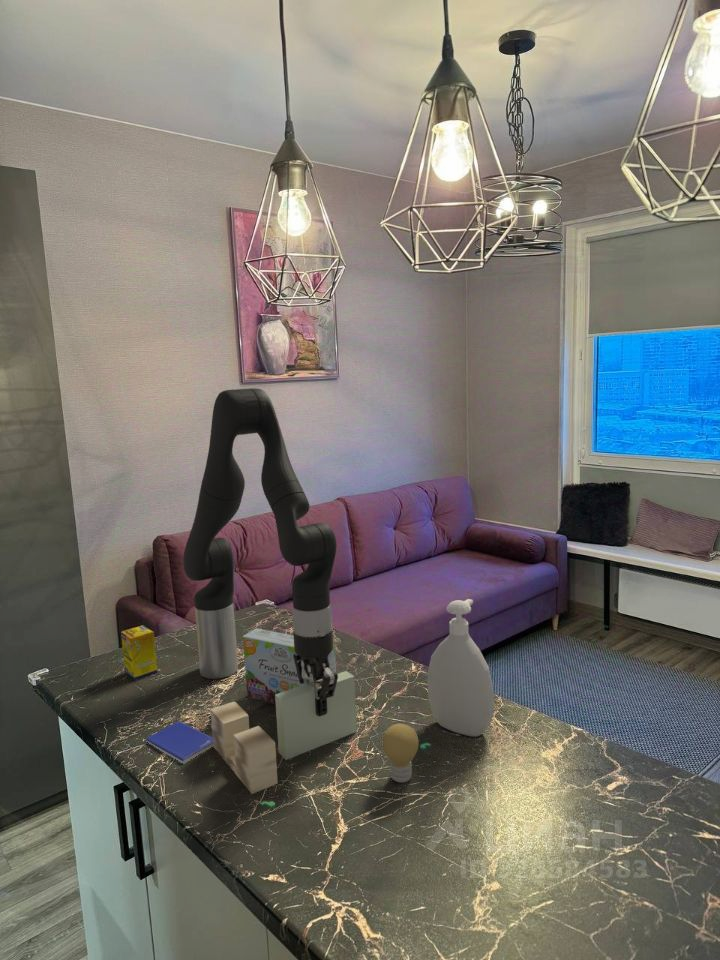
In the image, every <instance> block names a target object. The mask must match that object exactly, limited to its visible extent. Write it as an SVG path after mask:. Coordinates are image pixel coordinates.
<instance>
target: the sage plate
mask: <svg viewBox="0 0 720 960" xmlns="http://www.w3.org/2000/svg"><path fill="white" fill-rule="evenodd" d="M337 675H338V679H337V684H336V688H335V692H334V696H333V697H329V698H327V714H325V715H323V716H320V717H319V716H317V715H316V706H315V692H314V687H312V686H311V683H309V684H306V685H303V686H300V687H297V688H294V689H291V690H288V691H285V692H282V693H279V694H276V695H275V701H276V704H275V713H276V717H275V718H276V729H277V730H276V731H277V732H276V733H277V747H278V753H279V754H280V756H281V757H282V758H283V759H284V760H285V761H287V760H289V759H292V758H294V757H297V756H300V755H301V754H304V753H307V752H310V751H312V750H314V749H317V748H320V747H323V746H325V745H327V744H330V743H332V742H335V741H337V740H341V739H342V738H345V737H347V736H349V735H352V734H355V733H357V731H358V730H357V727H358V726H357V710H356V708H357V707H356V687H355V686H356V685H355V684H356V683H355V675H353V674H352V673H350V672H349V671H347V670H345V671H342V672H339V673H337ZM321 680H322V679H321ZM318 681H320V680H318ZM316 682H317V681H316ZM320 691H321V687H319V692H320Z"/></svg>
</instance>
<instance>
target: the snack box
mask: <svg viewBox="0 0 720 960" xmlns="http://www.w3.org/2000/svg"><path fill="white" fill-rule="evenodd" d="M242 648H243V657H244V671H245V681H246V691H247V692H246V693H247V698H249V697H250V699H253V698H254V700H257V699H258V701H261V702H266V703H269V704H273V705H276V701H275V695H276V694H279V693H282V692H285V691H288V690H291V689H294V688H297V687H300V686H303V685H304V684H300V682H299V678H298V674H297V670H296V665H295V661H294V657H293V655H294V654H296V653H295V650H294V635H291V634H288V633H286V634H285V633H282V632H278V631H272V630H266V629H262V628H257V627H256V628H254V629H252V630H251V631H249V632H247V633H245V634H244V635H242ZM336 660H337V659H336V644H335V643H333V650H332V651H331V652H330V654H329V655H328V661H329V665H330V667H329V669H330V671H331V672H332V673H335V672H336V673H337V665H336V664H337V663H336ZM317 681H318V680H317Z"/></svg>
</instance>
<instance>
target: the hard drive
mask: <svg viewBox="0 0 720 960" xmlns="http://www.w3.org/2000/svg"><path fill="white" fill-rule="evenodd" d="M145 740H146V743H147V742H148V743H149V744H148V743H147V744H148V745H150V744H151V745H153V746H154V747H153V746H152V747H153V748H155V747H156V748H155V749H157V750H158V749H159V751H160V752H162V753H163V752H164V753H163V754H165V753H166V754H165V755H167V754H168V755H167V756H169V757H170V756H171V757H170V758H172V759H174V760H175V759H176V760H175V761H177V760H178V761H177V762H178V763H181V764H182V763H183V765H186V764H187V763H189V762H190V761H192V760H194V759H195V757H196V756H197V757H199V756H200V755H199V754H201V753H202V754H204V753H206V752H207V751H206V750H208V749H209V750H211V749H212V748H211V747H213V736H210V735H208V734H206V733H204V732H202V731H199V730H198V729H196V728H194V727H192V726H190V725H188V724H186V723H184V722H182V721H177V722H175V723H173V724H171V725H169V726H168V727H165V728H163V729H162V730H160V731H158V732H157V731H156V733H154V734H152V735H150V736H148V737H147V738H146V739H145ZM151 745H150V746H151ZM210 748H211V749H210ZM213 748H214V747H213ZM209 750H208V751H209ZM205 751H206V752H205ZM203 752H204V753H203ZM202 754H201V755H202ZM198 755H199V756H198ZM197 757H196V758H197ZM193 758H194V759H193ZM191 759H192V760H191ZM188 761H189V762H188Z"/></svg>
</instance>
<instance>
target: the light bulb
mask: <svg viewBox="0 0 720 960" xmlns="http://www.w3.org/2000/svg"><path fill="white" fill-rule="evenodd" d="M381 746H382V750H383V752H384V754H385V756H387V758H388V759H389V761H390V777H391V779H392V780H393V781H395V782H396V783H400V784H401V783H402V784H403V783H406V782H408V781H410V780H411V778H412V760H413V758H414V757H415V756H416V754H417V752H418V749H419V737H418V734H417V732H416V731H415V729H414V728H413V727H411V726H410V725H408V724H406V723H405V724H404V723H396V724H392V725H390V726H389V727H388V728H387V729H386V730H385V732H384V733H383V735H382V740H381Z"/></svg>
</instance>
